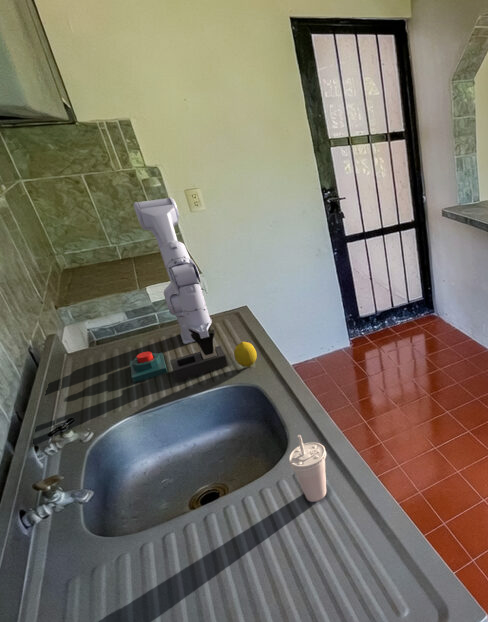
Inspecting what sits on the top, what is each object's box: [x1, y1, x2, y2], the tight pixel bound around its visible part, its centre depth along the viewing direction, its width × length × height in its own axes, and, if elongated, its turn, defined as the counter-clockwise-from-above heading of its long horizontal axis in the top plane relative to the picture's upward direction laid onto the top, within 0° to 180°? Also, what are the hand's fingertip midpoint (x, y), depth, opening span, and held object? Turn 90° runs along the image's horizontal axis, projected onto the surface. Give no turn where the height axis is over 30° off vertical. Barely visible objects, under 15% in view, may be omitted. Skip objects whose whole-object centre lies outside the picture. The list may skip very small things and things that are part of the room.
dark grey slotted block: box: [170, 345, 229, 382], centre depth 128 cm, size 7×13×4 cm, turn 126°
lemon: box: [233, 341, 258, 368], centre depth 126 cm, size 6×6×8 cm
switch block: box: [129, 352, 168, 384], centre depth 128 cm, size 11×8×4 cm
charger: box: [197, 343, 217, 359], centre depth 127 cm, size 3×3×7 cm
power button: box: [135, 351, 153, 363], centre depth 127 cm, size 4×4×2 cm
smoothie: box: [288, 434, 327, 503], centre depth 82 cm, size 6×6×14 cm
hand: (207, 351), depth 128 cm, fingers closed on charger, 3 cm apart
